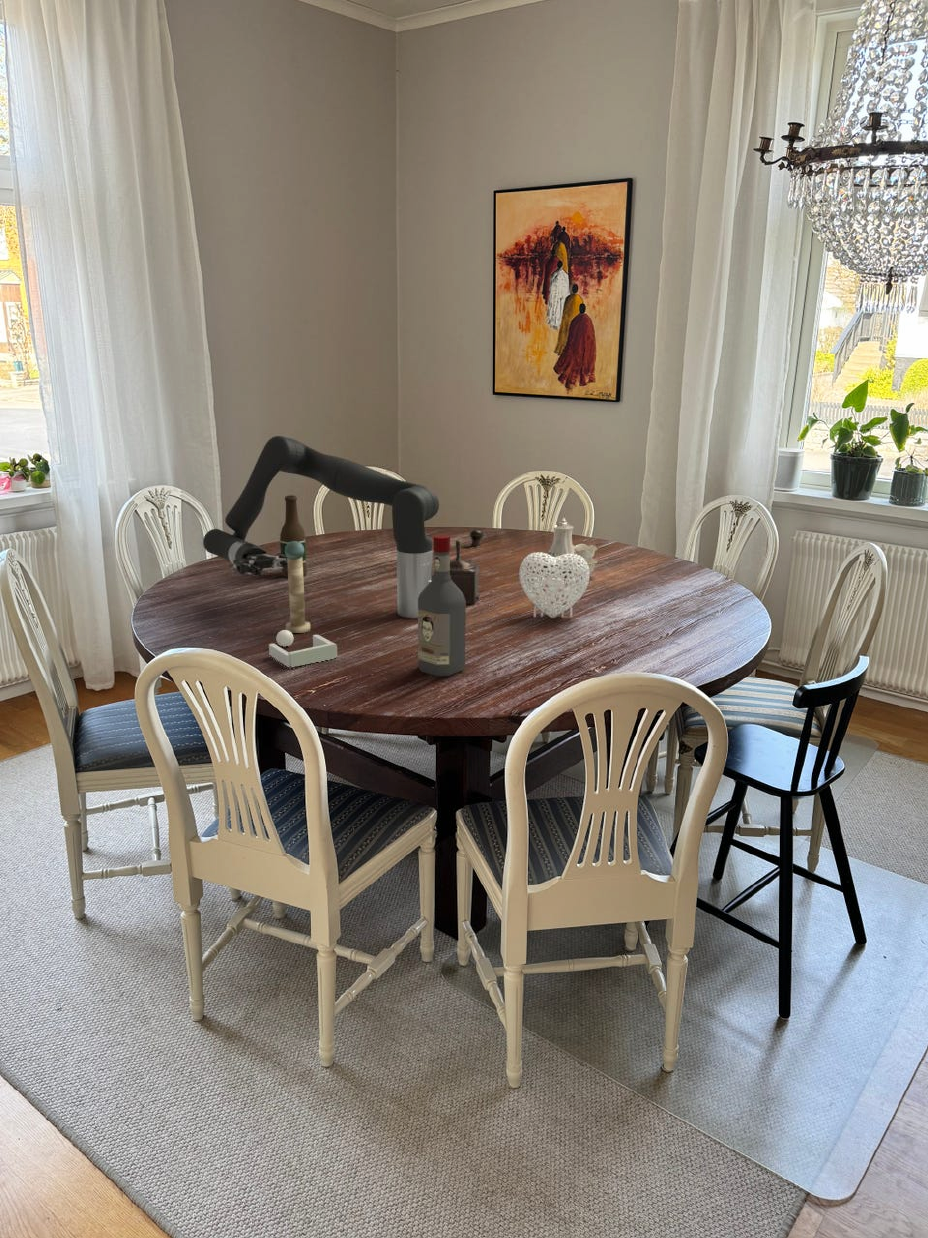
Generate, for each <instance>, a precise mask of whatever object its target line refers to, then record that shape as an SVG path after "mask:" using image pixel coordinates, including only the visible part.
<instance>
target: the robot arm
mask: <svg viewBox="0 0 928 1238" xmlns="http://www.w3.org/2000/svg"><path fill="white" fill-rule="evenodd" d="M280 472H283V473H286V474H292V475H300V476H303V477H306V478H308V479H309V478H310V479H313V480H315V481H317V482H319V483H320V484H321V485H323V486H324V487H326V488H327V489H329V491H332V492H334V493H337V494H338V495H341V496H344V497H346V498H349V499H352V500H356V501H361V502H366V503H375V504H383V505H388V506H391V516H392V517H391V519H392V532H393V533H392V535H393V538H394V541H395V543H396V580H397V581H396V584H397V587H396V588H397V589H396V592H397V595H396V597H397V614H398V616H400V617H403V618H406V619H407V618H408V619H418V597H419V594H420V593H421V592H422V591H423V590H424V588H425V587H426V586H427V585H428V584H429V583H430V582H431V581H432V580H433V574H434V551H433V539H432V538H431V537H430V536H427V535H426V532H425V531H426V529H425V527H426V526H425V522H427V521H429V520H431V519H432V518H433V517H435V516H436V515H437V513H438V511H439V509H440V502H439V499H438V496H437V494H436V493H435V491H433V490H432V489H431V488H429V487H427V486H425V485H421V484H417V483H413V482H409V481H405V480H402V479H398V478H394V477H392V476H390V475H387V474H385V473H383V472H380V471H379V470H375V469H373V468H369V467H368V466H365V465H362V464H360V463H357V462H355V461H352V460H350V459H347V458H344V457H339V456H334V455H329V454H325V453H323V452H320V451H318V450H316V449H314V448H312V447H310V446H308V445H306V444H305V443H303V442H301V441H299V440H297V439H294V438H290V437H287V436H283V435H282V436H281V435H275V436H272V437H271V438H269V439H268V440H267V441H266V443H265V444H264V447H263V448H262V450H261V452H260V455H259V456H258V458H257V461H256V463H255V465H254V468H253V470H252V471H251V474H250V476H249V478H248V480H247V482H246V485H245V486H244V488H243V490H242V492H241V494H240V495H239V497H238V498H237V500H236V501H235V502H234V504H233V505H232V507H231V509H230V510H229V512H228V513H227V515H225V518H224V519H225V520H224V521H225V525H227V526H228V527H229V528H230V529H231V530H232V531H234V532H233V533H232V534H230V533H228V532H227V531H223V530H221V529H219V528H213V529H209V530H208V531H207V532H206V533H205V535H204V536H203V540H202V544H203V548H204V550H205V551H206V552H208V553H209V554H212V555H213V556H217V557H219V558H221V559H224V560H226V561H227V562H229V563H231V564H233V565H232V566H233V568H232V569H233V571H234V572H236V573H238V574H239V575H242V576H243V575H245V574H246V573H247V574H248V575H253V576H256V577H261V573H262V571H266V570H273V571H277V570H278V569H281V570H282V569H284V570H286V571H288V561H287V558H288V557H287V556H286V555H284V554H281V552H280V553H277V555H271V554H270V555H269V554H268V553H267V551H266V549H264V548H263V547H261V546H260V545H257V544H254V542H250V541H246V538H247V535H248V533H249V530H250V528H251V527H252V525H254V522H255V521H256V520H257V518H258V517H259V515H260V514H261V512H262V510H263V507H264V504H265V498H266V495H267V494H266V493H267V490H268V488H269V485H270V484H271V482H272V480H273V479H274V478H275V477H276V476H277V475H278V474H279V473H280ZM281 565H282V566H281Z"/></svg>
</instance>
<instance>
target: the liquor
mask: <svg viewBox="0 0 928 1238" xmlns="http://www.w3.org/2000/svg"><path fill="white" fill-rule="evenodd" d="M432 538H433V539H432V542H433V580H432V581H431V582H430V583H429V584H428V585H427V586H426V587H425V588H424V590H423V591H422V592H421V593H420V594H419V597H418V618H417V664H418V669H419V671H420V672H421V673H425V674H428V675H431V676H434V677H438V678H439V677H451V676H453V675H455V674H458V673H460V672H462V671H464V669H465V668H466V625H467V624H466V621H467V620H466V618H467V617H466V615H467V613H466V611H467V609H466V608H467V605H466V601H465V598H464V595H463V593H462V591H461V590H460V589H459V588H458V587H457V586H456V585H455V584H454V583H453V582H452V580H451V576H450V561H451V560H450V557H451V556H450V555H451V554H450V552H451V536H450V535H448V534H435V535H433V537H432Z"/></svg>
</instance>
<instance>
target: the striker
mask: <svg viewBox="0 0 928 1238" xmlns="http://www.w3.org/2000/svg"><path fill="white" fill-rule="evenodd" d="M285 554H286V556H287V557H288V558H287V561H288V578H287V579H288V598H289V599H288V600H289V616H290V617H289V618H290V619H289V620H290V621H289V622H287V623H285V630H288V631H290V632H291V633H304V634H306V633H305V632H308V631H309V632H311V630H310V629H311V623H310V622H309V621H306V611H305V610H306V606H305V605H306V604H305V586H304V585H305V584H304V582H305V580H304V577H303V559H302V556H303V554H304V547H303V545H302V544H301V543H300V542H298V541H291V542H289V543H288V544H287V545H286V547H285ZM309 632H308V633H309Z"/></svg>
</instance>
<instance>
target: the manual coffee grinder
mask: <svg viewBox="0 0 928 1238" xmlns="http://www.w3.org/2000/svg"><path fill="white" fill-rule="evenodd" d="M469 537H470V539H471V543H470V545H461V541H460V540H456V541H455V549H456V558H454V559H452V560H450V576H451V580H452V582H453V583H454V584H455V585H456V586H457V587H458V588H459V589H460V590H461V591H462V593H463V595H464V598H465V601H466V606H474V605H475V604H476V603H477V601H478V599H480V594H479V593H480V592H479V567H480V563H479V562H471V561H472V559H471V558H470V560H467V559H465V558H461V553H460V552H461V550H469V549H472V548H474V549H476V548H477V547H481V540H482V539H483V537H484V532H483V531H481V529H472V530H470V532H469Z"/></svg>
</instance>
